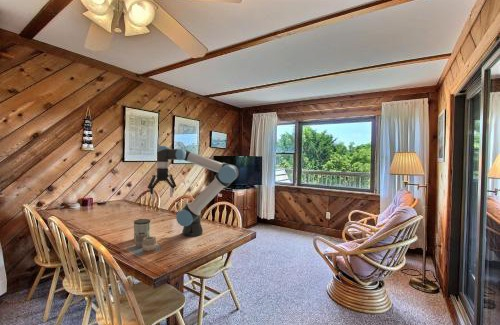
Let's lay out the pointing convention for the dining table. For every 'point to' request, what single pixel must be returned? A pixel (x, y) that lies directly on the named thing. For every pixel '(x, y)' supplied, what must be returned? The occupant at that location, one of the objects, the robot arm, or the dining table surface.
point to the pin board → (141, 250)
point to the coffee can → (141, 227)
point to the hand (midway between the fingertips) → (162, 197)
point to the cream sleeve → (149, 245)
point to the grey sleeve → (140, 239)
